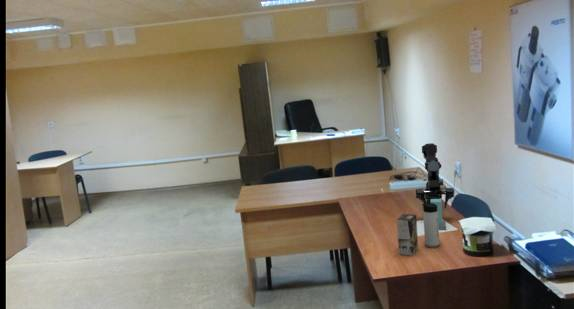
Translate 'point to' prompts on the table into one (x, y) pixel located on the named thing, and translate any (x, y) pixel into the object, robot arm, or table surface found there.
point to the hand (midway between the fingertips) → (435, 208)
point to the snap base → (442, 226)
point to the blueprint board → (448, 228)
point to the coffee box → (407, 234)
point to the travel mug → (431, 225)
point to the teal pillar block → (439, 207)
